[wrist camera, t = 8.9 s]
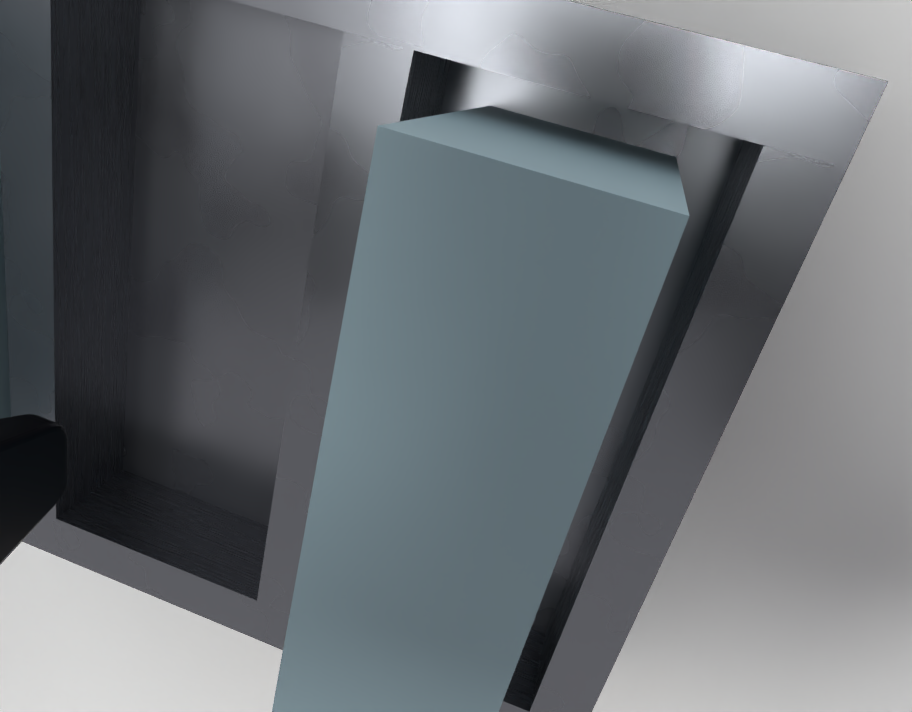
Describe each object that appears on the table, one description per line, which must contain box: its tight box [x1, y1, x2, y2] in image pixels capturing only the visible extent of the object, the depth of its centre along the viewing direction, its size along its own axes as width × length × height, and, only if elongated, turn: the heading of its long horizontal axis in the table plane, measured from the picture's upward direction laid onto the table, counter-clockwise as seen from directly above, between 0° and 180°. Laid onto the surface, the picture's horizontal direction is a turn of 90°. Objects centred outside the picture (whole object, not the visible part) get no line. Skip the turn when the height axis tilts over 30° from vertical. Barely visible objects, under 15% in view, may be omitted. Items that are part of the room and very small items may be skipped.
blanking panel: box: [272, 105, 689, 712], centre depth 11 cm, size 9×3×5 cm, turn 166°
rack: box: [0, 0, 888, 712], centre depth 13 cm, size 13×19×3 cm
